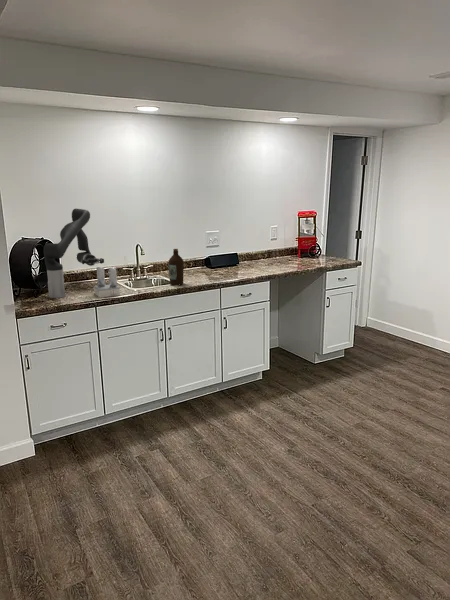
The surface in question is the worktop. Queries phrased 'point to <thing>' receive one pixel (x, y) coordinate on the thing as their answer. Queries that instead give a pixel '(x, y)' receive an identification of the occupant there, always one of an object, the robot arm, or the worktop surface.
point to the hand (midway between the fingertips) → (95, 262)
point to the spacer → (100, 276)
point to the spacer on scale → (112, 277)
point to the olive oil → (176, 268)
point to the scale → (106, 291)
